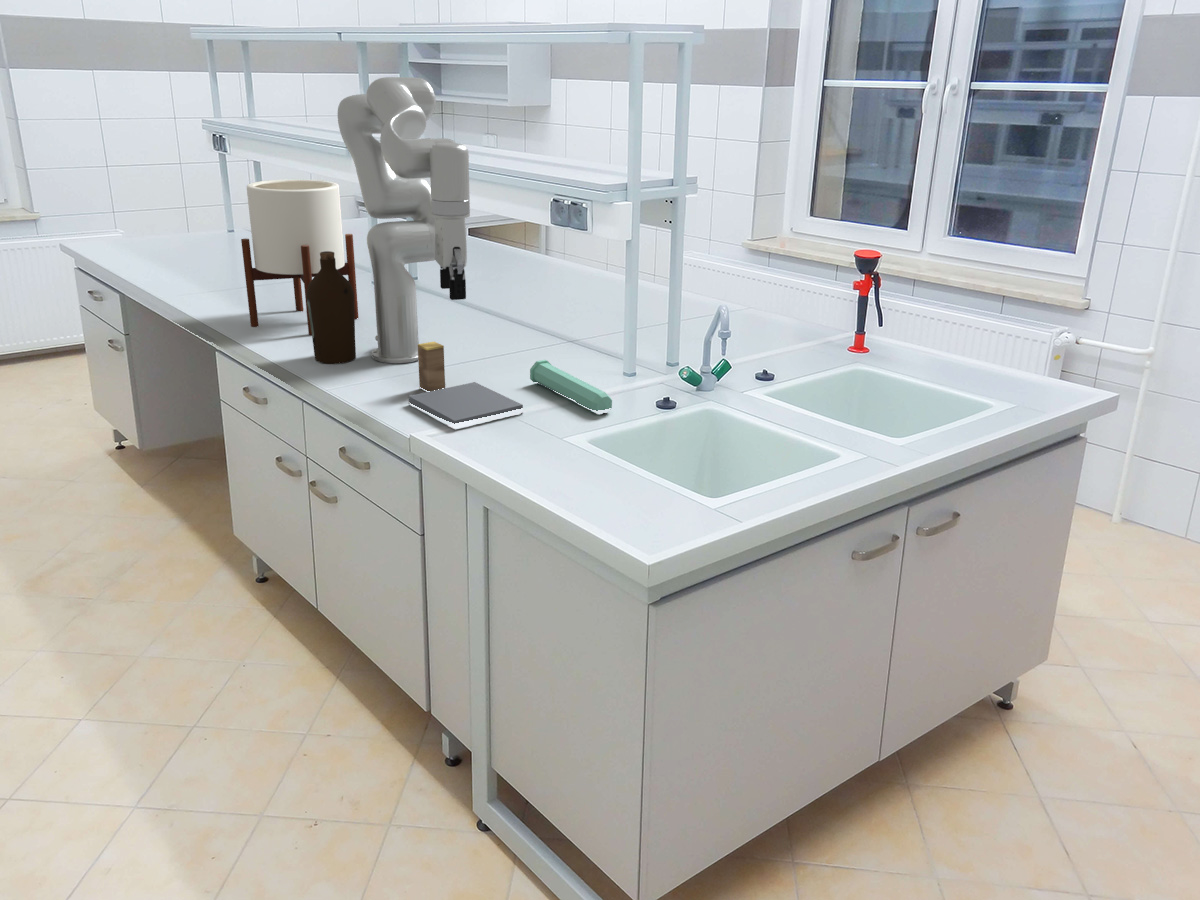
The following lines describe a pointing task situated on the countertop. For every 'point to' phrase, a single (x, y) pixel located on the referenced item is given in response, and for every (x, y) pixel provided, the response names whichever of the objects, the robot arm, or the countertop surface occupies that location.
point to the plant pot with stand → (294, 236)
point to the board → (464, 402)
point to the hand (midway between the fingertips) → (453, 293)
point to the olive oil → (331, 313)
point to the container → (569, 386)
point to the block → (431, 366)
